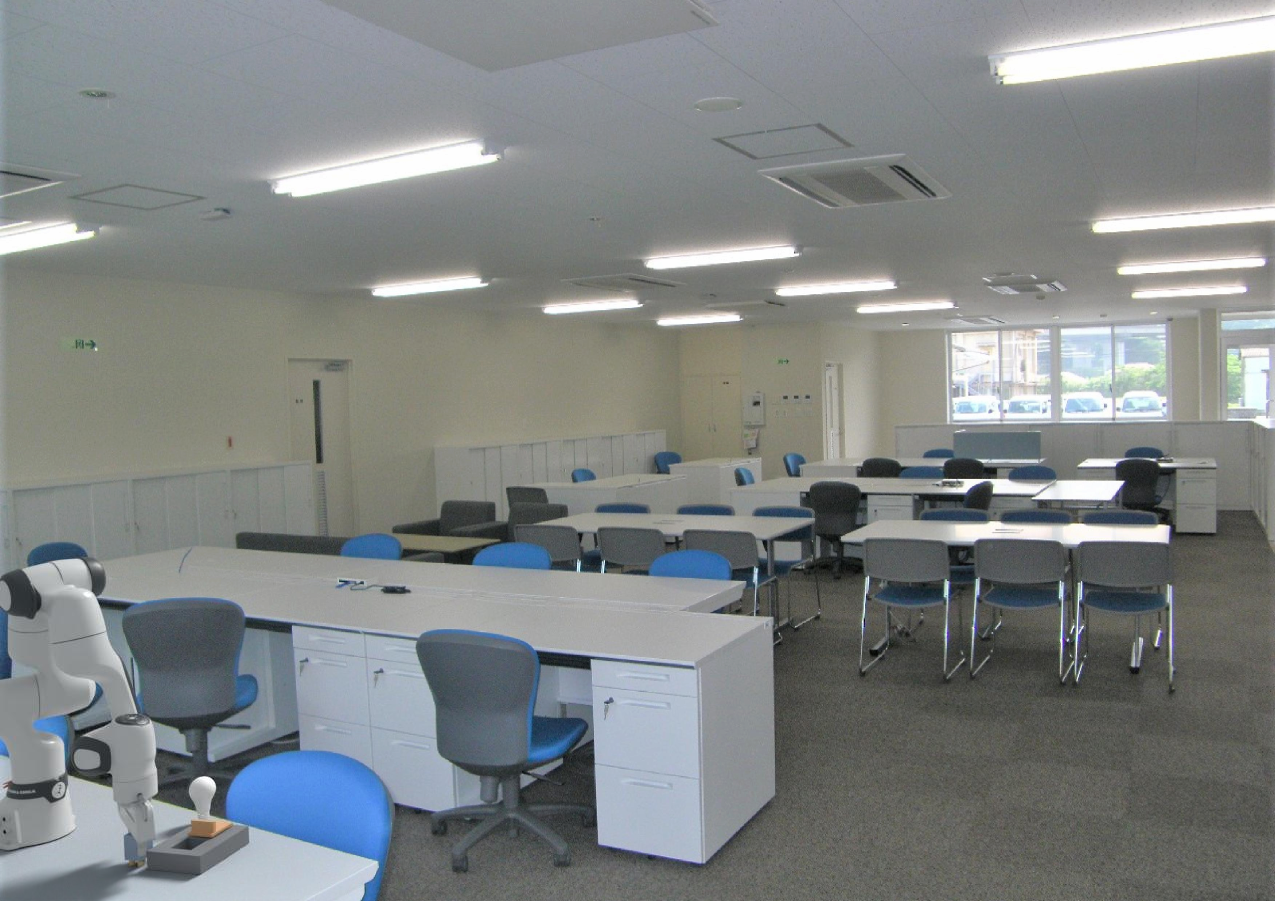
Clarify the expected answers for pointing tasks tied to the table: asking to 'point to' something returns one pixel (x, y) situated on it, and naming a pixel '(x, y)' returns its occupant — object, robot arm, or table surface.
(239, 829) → the socket block
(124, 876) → the table surface
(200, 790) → the lightbulb
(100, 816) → the table surface
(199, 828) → the panel
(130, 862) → the plug
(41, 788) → the robot arm
